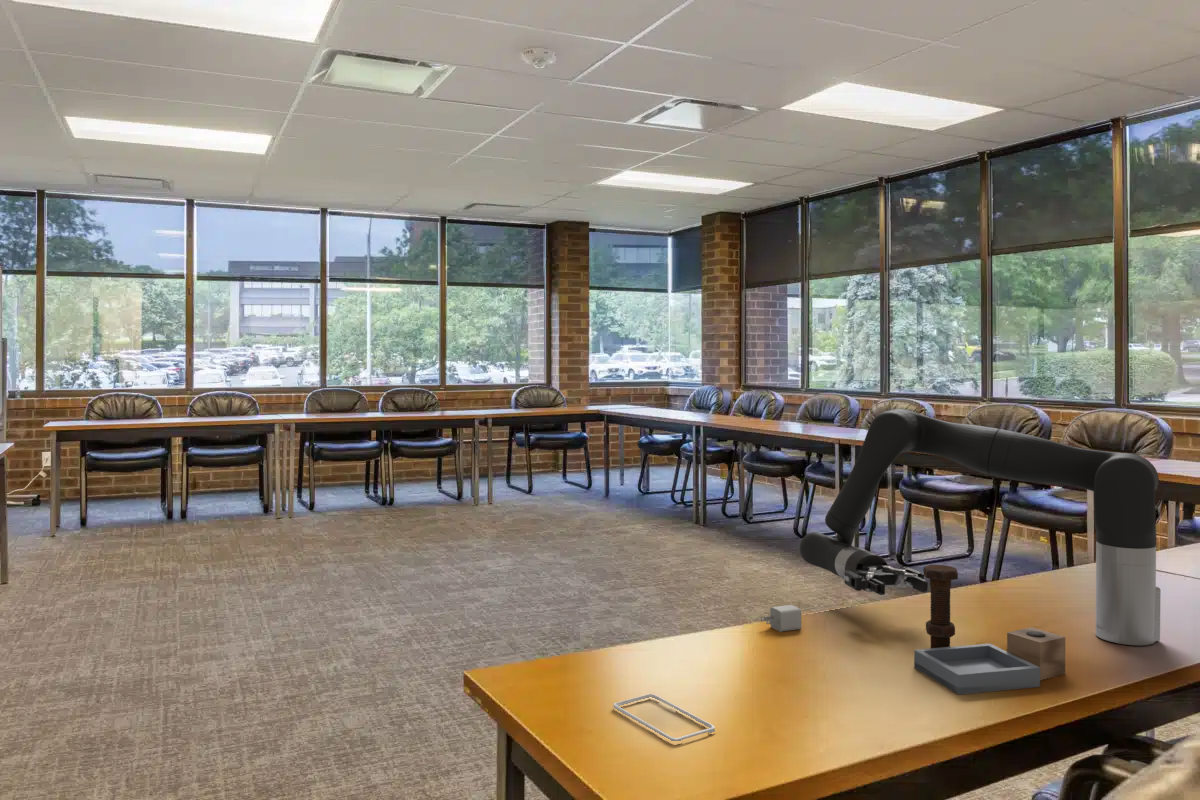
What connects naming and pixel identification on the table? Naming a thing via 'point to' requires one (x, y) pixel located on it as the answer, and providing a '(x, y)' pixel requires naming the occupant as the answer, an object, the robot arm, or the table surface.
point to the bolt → (940, 604)
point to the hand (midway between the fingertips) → (904, 588)
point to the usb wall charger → (784, 618)
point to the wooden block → (1039, 650)
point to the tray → (976, 668)
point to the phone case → (616, 706)
